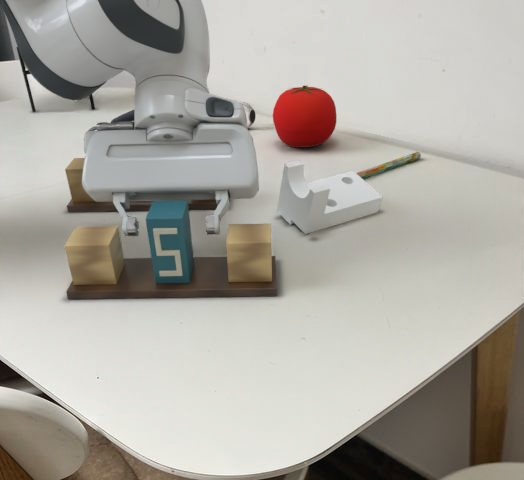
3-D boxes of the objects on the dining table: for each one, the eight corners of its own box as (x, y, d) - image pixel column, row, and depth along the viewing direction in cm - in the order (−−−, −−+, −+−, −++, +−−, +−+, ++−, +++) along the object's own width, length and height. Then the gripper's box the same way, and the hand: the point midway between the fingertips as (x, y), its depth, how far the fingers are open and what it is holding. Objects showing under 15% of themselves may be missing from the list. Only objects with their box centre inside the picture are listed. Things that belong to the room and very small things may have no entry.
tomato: (317, 132, 115) (319, 76, 109) (346, 149, 106) (350, 89, 100) (263, 140, 111) (261, 83, 105) (287, 158, 103) (288, 96, 96)
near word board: (67, 299, 65) (55, 252, 62) (85, 265, 72) (75, 221, 68) (276, 296, 65) (276, 248, 61) (275, 262, 71) (275, 217, 68)
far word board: (68, 212, 85) (58, 172, 82) (81, 192, 92) (73, 154, 88) (227, 209, 85) (224, 169, 81) (230, 189, 91) (227, 151, 88)
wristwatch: (250, 131, 117) (249, 105, 114) (229, 128, 118) (227, 103, 116) (256, 127, 119) (256, 102, 116) (235, 125, 121) (234, 100, 118)
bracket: (304, 239, 78) (314, 192, 73) (276, 210, 82) (284, 163, 76) (376, 217, 84) (390, 172, 78) (347, 191, 87) (359, 146, 82)
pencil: (349, 184, 92) (421, 159, 101) (350, 177, 91) (422, 152, 100) (344, 182, 93) (415, 157, 101) (344, 175, 92) (416, 151, 101)
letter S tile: (155, 284, 66) (144, 219, 61) (161, 263, 70) (152, 200, 65) (189, 284, 66) (182, 219, 61) (194, 262, 70) (187, 200, 65)
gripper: (75, 108, 64) (71, 226, 62) (257, 103, 64) (258, 222, 62) (93, 137, 70) (90, 244, 68) (258, 132, 70) (260, 241, 68)
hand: (171, 234), depth 65 cm, fingers open, 8 cm apart
